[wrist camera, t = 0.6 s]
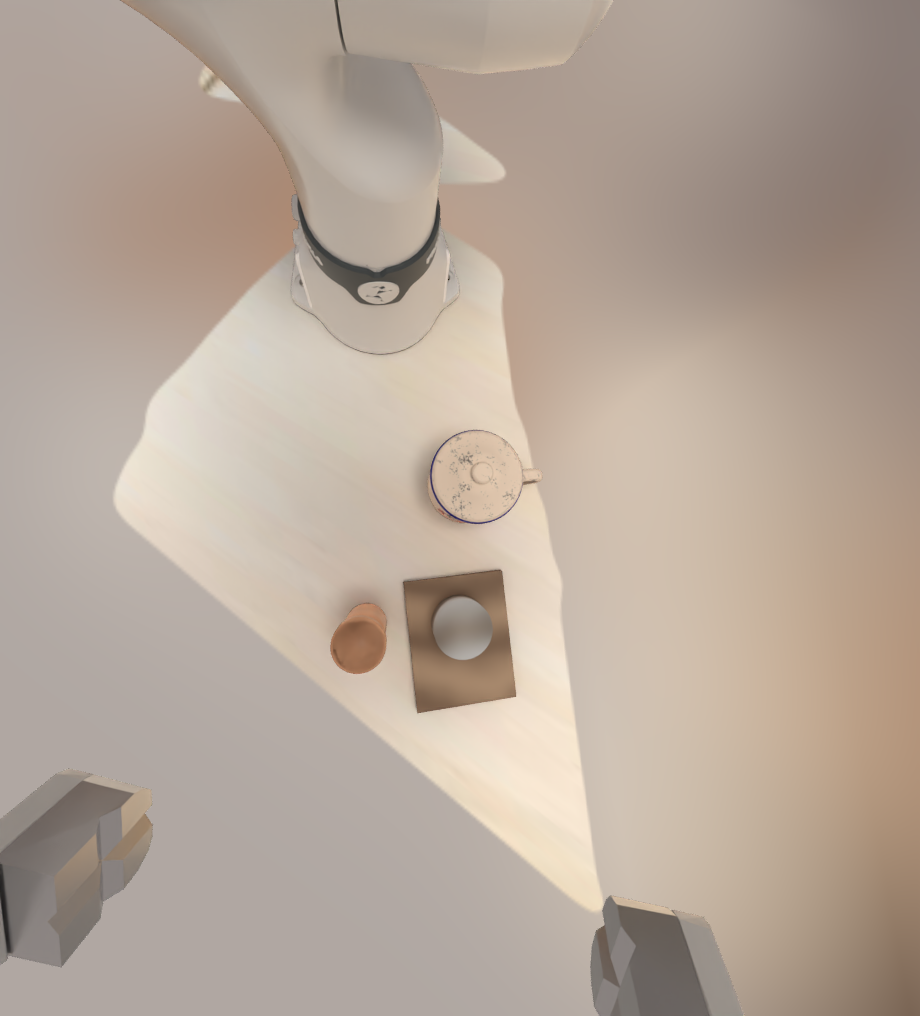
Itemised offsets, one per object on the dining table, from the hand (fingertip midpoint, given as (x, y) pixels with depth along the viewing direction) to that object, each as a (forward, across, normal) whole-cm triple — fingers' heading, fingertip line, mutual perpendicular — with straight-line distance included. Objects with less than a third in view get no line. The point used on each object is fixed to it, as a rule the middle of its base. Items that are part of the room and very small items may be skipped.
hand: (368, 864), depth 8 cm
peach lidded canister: (+38, +10, +18) cm, 43 cm away
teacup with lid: (+46, +1, +2) cm, 46 cm away
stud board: (+40, 0, +18) cm, 44 cm away
